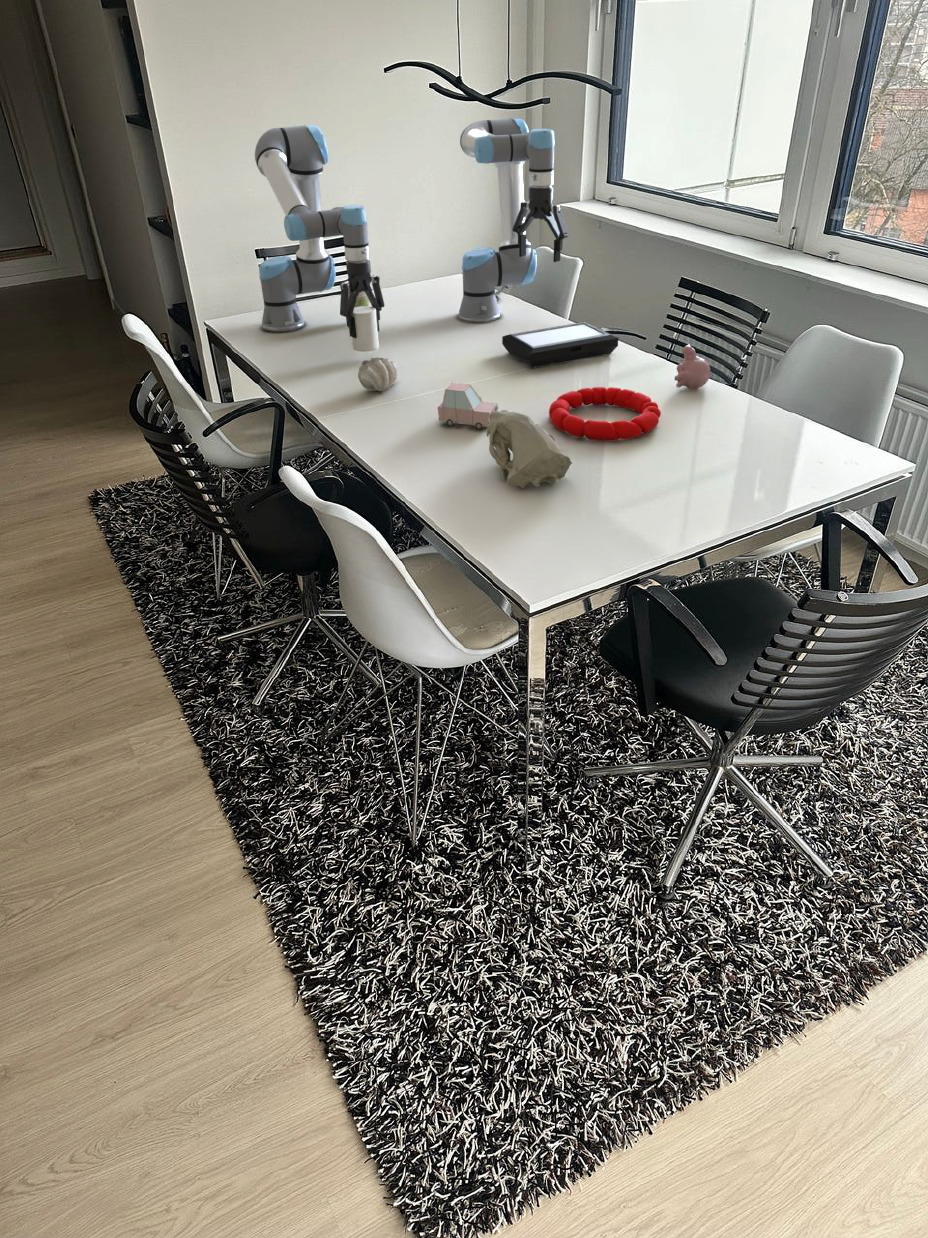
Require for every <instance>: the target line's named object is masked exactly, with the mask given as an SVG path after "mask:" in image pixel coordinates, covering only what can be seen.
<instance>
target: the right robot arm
mask: <svg viewBox="0 0 928 1238" xmlns="http://www.w3.org/2000/svg"><path fill="white" fill-rule="evenodd" d="M459 137H460V138H459V145H460V148H461V150H462V152H463V153H464V154H465V155H466V156H468V157H471V158H475V162H477V163H478V164H487V165H489V164H493V166H494V167H496V170H497V177H498V178H497V179H498V194H499V209H500V222H501V223H500V225H501V226H500V227H501V240H502V241H501V243H500V244H499V245H498V251H496V250H495V248H493V247H478V248H475V249H470V250H469V251H466V252H465V253H464V254H463V256H462V263H461V270H462V293H463V295H462V299H461V303H460V307H459V310H458V318H459V319H460V320H461V321H463V322H467V323H490V322H493V321H496V320H498V319H499V318H500V317H501V310H500V308H499V304H498V302H499V300H500V297H499V296H498V294H500V293H502V292H503V290H505V289H509V287H510V286H523V285H529V284H531V283H533V281H534V279H535V276H536V273H537V265H538V264H537V263H538V257H537V251H536V249H534V248H532V244H531V242H530V241H528V239H527V229H528V228H529V226H530V225H531V224H532V222H533V221H534V220H537V219H539V220H543V221H544V222H546V224H547V225H548V227H549V230H551V232H552V235H553V236H554V238H555V239H554V240H553V258H552V259H553V260H552V261H553V263H557V262H560V261H561V254H562V253H561V252H562V250H563V249H564V241H563V240H564V239H567V238H569V232H568V228H567V226H566V222H565V220H564V217H563V213H562V205H561V204H555V205H553V198H554V187H553V185H554V163H555V144H556V141H555V132H554V130H553V129H552V128H534V129H531V130H530V131H529V127H528V124H527V123H526V122H525V120H524V119H522V118H512V117H511V118H500V119H499V118H498V119H497V118H496V119H481V120H477V121H474V122H472V123H470V124H469V125H467V126H466V127H465V128H464V129H463V130H462V132H461V134H460V136H459ZM526 162H528V185H529V187H528V200H529V201H528V200H525V195H524V193H525V192H524V179H523V178H524V176H523V165H525V163H526ZM528 210H529V212H528ZM527 212H528V214H527ZM526 215H527V216H526ZM498 287H501V288H499V290H497V291H496V288H498Z"/></svg>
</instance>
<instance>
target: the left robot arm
mask: <svg viewBox="0 0 928 1238" xmlns="http://www.w3.org/2000/svg"><path fill="white" fill-rule="evenodd" d="M254 161H255V164H256V167H257V169H258V171H259V173H260V174H261V175H262V176H263V177H264V178H266V179H267V181H268V184H269V186H270V187H271V190H272V191H273V193H274V195H275V198H276V199H277V202H278V203H279V205H280V207H281V209H282V211H283V213H284V215H285V216H284V218H283V228H284V232H285V234H286V237H287V239H288V240H290V241H292V242H295V241H296V242H297V241H298V244H299V248H298V250H297V251H296V252H295V259H292V258H291V257H290V256H288V255H282V256H275V257H271V258H268V259H265V260H264V261H262V262H261V263H260V265H259V266H258V273H259V274H258V275H259V280H260V287H261V292H262V299H263V313H262V319H261V326H262V330H264V331H265V332H271V333H286V332H293V331H296V330H297V331H298V330H300V329H302V328H304V326H305V319H304V317H303V314H302V312H301V310H300V307H299V306H298V305H299V304H298V303H297V295H299V296H300V295H305V294H312V293H318V292H319V293H322V292H325V291H329V290H331V289H332V288H333V287H334V285H335V283H336V277H337V275H336V274H337V271H336V269H337V268H336V266H335V265H336V263H335V260H334V258H333V256H331V255H330V253H329V251H328V250H327V249H326V248H325V242H324V241H325V240H324V238H331V237H339V236H342V237H343V248H344V257H345V261H346V262H345V267H346V274H347V279H348V280H347V279H346V280H347V282H345V283H344V282H339V288H340V303H339V315H340V316H341V317H345V323H346V327H347V328H348V331H349V337H350V338H352V337H353V338H357V337H356V327H355V317H353V316H352V315H353V311H354V307H355V303H356V299H357V296H358V295H359V293H360V292H362V291H364V292H365V293H366V295H367V297H368V299H369V304H370V305H371V307H374V308H375V309H376V318H377V330H378V333H379V332H380V320H381V314H380V312H381V311H382V308H384V307H385V306H386V305H385V301H384V296H383V292H382V290H381V285H380V282H381V281H380V276H378V275H375V274H373V275H371V273H372V267H371V266H372V265H371V261H370V260H369V259H370V257H371V256H370V245H369V231H368V217H367V211H366V207H364V206H363V205H361V204H360V205H359V204H349V205H347V204H346V205H344V206H335V207H333V208H331V209H326V210H322V198H321V197H322V196H321V185H320V176H321V175H322V174H323V172H324V165H327V164H328V162H329V150H328V144H327V141H326V138H325V135H324V133H323V131H322V130H321V129H320V127H318V126H317V125H307V124H303V125H293V126H286V127H273V128H270V129H267V130H266V131H265V132H263V133H262V134H261V136H260V137H259V139H258V141H257V142H256V144H255V150H254ZM371 285H372V287H371ZM349 286H350V291H348V289H349ZM349 293H350V295H349ZM348 295H349V299H348Z"/></svg>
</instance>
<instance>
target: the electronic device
mask: <svg viewBox="0 0 928 1238" xmlns="http://www.w3.org/2000/svg"><path fill="white" fill-rule="evenodd" d="M501 343H502V344H501V345H502V346H503V347H504V349H505V350H506V351H507V353H508V354H509V355H511V356H513V357H514V358H516V359H518V360H519V361H521V362H523V363H524V364H526V365H527V366H529V367H530V368H532V369H534V368H539V367H545V366H551V365H556V364H563V363H568V362H572V361H573V362H574V361H578V360H579V361H580V360H584V359H590V358H595V357H601V356H606V355H611V354H613V352H614V351H615V350H616V349H617V348H618V346H619V337H617V336H615V335H613V334H611V333H609V332H607V331H605V330H603V329H602V328H599V327H597V326H595V325H593V324H591V323H589V322H587V321H581V322H576V323H569V324H563V325H557V326H552V327H546V328H540V329H533V330H528V331H527V330H526V331H522V332H515V333H510V334H506V335H503V336H501Z"/></svg>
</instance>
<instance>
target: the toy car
mask: <svg viewBox="0 0 928 1238" xmlns="http://www.w3.org/2000/svg"><path fill="white" fill-rule="evenodd" d="M498 409H499V404H498V403H497V402H490V401H489V402H487V401H483V397H481V396H480V395H479V394H478V393H477V391H476V390H475V389H474V386H472V384H469V383H459V382H451V383H450V384H449V385H448V386H447V387H446V388H445V389H444V394H443V399H442V403H440V404H439V405H438V406H437V413H438V421H439V422H443V423H446V425H447V426H448V427H452V426H454V425H455V424H461V425H469V426H473V427H475V429H476V430H479V431H480V430H481V429H483V428H485V427H486V428H487V423H488V422H490V414H491V413H492V412H496V411H499V410H498Z"/></svg>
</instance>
